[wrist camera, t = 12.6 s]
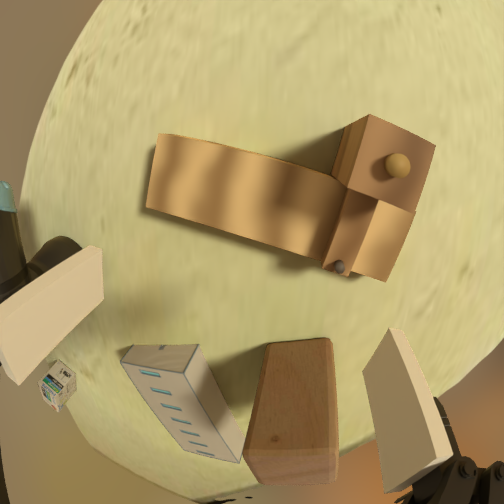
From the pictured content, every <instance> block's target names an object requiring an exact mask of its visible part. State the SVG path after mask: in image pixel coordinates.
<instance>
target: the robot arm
mask: <svg viewBox="0 0 504 504" xmlns="http://www.w3.org/2000/svg"><path fill="white" fill-rule="evenodd" d="M16 213H17V209H16V208H15V202H14V196H13V190H12V187H11V185H10V184H9V183H7V182H5V181H0V366H1V365H2V366H3V368H4V370H5V372H6V374H7V376H8V377H10V378H11V379H12V380H13V381H14V382H15V383H17V384H18V385H20V384H21V383H22V382H23V381H24V379H25V378H26V377H27V376H28V375H29V374H30V373H31V372H32V371H33V370H34V368H36V366H37V365H38V364H39V363H40V362H41V361H42V360H43V359H44V358H45V357H46V356H47V355H48V354H49V353H50V352H51V351H52V350H53V349H54V348H55V347H56V346H57V344H58V343H59V342H60V341H61V340H62V339H63V338H64V337H65V336H66V335H67V334H68V333H69V332H70V331H71V330H72V329H73V328H75V327H76V326H77V325H78V324H79V323H80V322H81V321H82V320H83V319H84V318H85V317H86V316H87V315H88V314H89V313H90V312H91V311H92V310H93V309H94V308H95V307H96V306H97V305H99V304H100V303H101V302H102V301H103V300H104V292H103V267H102V249H100V248H97V247H94V246H91V245H89V246H88V247H86V248H84V249H82V248H81V247H80V246H79V245H78V244H77V243H76V242H75V241H73V240H72V239H70V238H68V237H65V236H57V237H55V238H53V239H51V240H49V241H47V242H46V243H45V244H44V245H43V247H42V248H41V249H40V250H39V251H38V252H37V254H36V255H35V256H34V257H33V258H32V259H31V261H30V262H28V263H27V264H26V259H25V255H24V251H23V246H22V242H21V237H20V232H19V226H18V220H17V214H16ZM362 372H363V376H364V381H365V385H366V389H367V394H368V399H369V403H370V408H371V413H372V418H373V423H374V428H375V434H376V440H377V445H378V452H379V458H380V464H381V472H382V479H383V487H384V493H392V492H399V491H402V490H404V489H406V488H407V487H409V486H410V485H412V488H413V490H412V491H410V492H409V493H407V494H405V495H404V496H402V497H400V498H398V499H397V500H396V501H395V502H394V503H398V502H400V501H402V500H404V501H403V503H401V504H504V463H503V462H501V461H496V462H495V463H493V464H492V465H491V466H490V467H488V468H487V469H486V468H477V466H476V464H475V462H474V461H473V460H472V459H471V458H469V457H466V456H464V457H462V456H461V454H460V451H459V448H458V445H457V442H456V439H455V437H454V434H453V431H452V428H451V426H450V423H449V420H448V418H446V417H447V415H446V413H445V410H444V408H443V406H442V405H441V403H440V402H439V400H438V399H437V398H436V397H433V396H432V394H431V391H430V389H429V387H428V384H427V382H426V380H425V377H424V375H423V373H422V370H421V368H420V366H419V364H418V362H417V359H416V357H415V355H414V353H413V351H412V349H411V347H410V345H409V343H408V340H407V338H406V336H405V334H404V332H403V330H398V329H393V328H389V329H388V330H387V332H386V334H385V336H384V337H383V339H382V341H381V342H380V344H379V346H378V348H377V349H376V351H375V352H374V354H373V356H372V357H371V359H370V360H369V362H368V364H367V365H366V367H365V368H364V370H363V371H362ZM0 504H10V502H9V498H8V493H7V489H6V484H5V478H4V472H3V465H2V459H1V448H0Z"/></svg>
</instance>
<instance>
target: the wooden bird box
mask: <svg viewBox="0 0 504 504" xmlns="http://www.w3.org/2000/svg"><path fill="white" fill-rule="evenodd" d="M435 147H436V145H434V144H432V143H430V142H428V141H427V140H425V139H423V138H421V137H419V136H417V135H415V134H413V133H411V132H409V131H407V130H405V129H403V128H400V127H398V126H396V125H394V124H392V123H389V122H387V121H385V120H383V119H380V118H378V117H375V116H373V115H371V114H369V115H367V116H365V117H363V118H361V119H359V120H357V121H355V122H353V123H351V124H349V125H347V126H346V127H345V128H344V132H343V135H342V139H341V142H340V145H339V149H338V152H337V155H336V159H335V162H334V165H333V168H332V172H331V175H332V176H334V177H335V178H336V179H337V180H339V181H340V182H341V183H342V184H344V185H345V186H346V187H347V190H346V193H345V196H344V199H343V202H342V205H341V208H340V211H339V213H338V216H337V219H336V222H335V225H334V227H333V230H332V233H331V236H330V238H329V241H328V244H327V246H326V249H325V251H324V254H323V257H322V259H321V266H322V269H325V270H328V271H331V272H335V273H338V274H341V275H344V276H347V277H348V276H349V274H350V271H351V269H352V267H353V264H354V262H355V260H356V257H357V255H358V253H359V250H360V248H361V245H362V243H363V240H364V238H365V235H366V233H367V230H368V228H369V225H370V223H371V220H372V217H373V215H374V212H375V209H376V206H377V204H378V201H379V200H381V201H384V202H386V203H388V204H391V205H393V206H396V207H398V208H400V209H403V210H405V211H407V212H410V213H412V214H414V212H415V210H416V207H417V204H418V201H419V198H420V196H421V193H422V190H423V187H424V184H425V181H426V177H427V174H428V171H429V168H430V164H431V161H432V158H433V154H434V150H435Z"/></svg>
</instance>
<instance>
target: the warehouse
mask: <svg viewBox="0 0 504 504" xmlns="http://www.w3.org/2000/svg"><path fill="white" fill-rule="evenodd" d="M120 363H121V365H122V366H123V368H124V370H125V371H126V373H127V374H128V376H129V378H130V379H131V381H132V382H133V384H134V385H135V387H136V388H137V390H138V391H139V393H140V394H141V396H142V397H143V398H144V400H145V401H146V403H147V404H148V405H149V407H150V408H151V410H152V411H153V412H154V414H155V415H156V416H157V418H158V419H159V420H160V422H161V423H162V424H163V425H164V427H165V428H166V429H167V430H168V432H169V433H170V434H171V435H172V437H173V438H174V439H175V440H176V441H177V443H178V444H179V445H180V446H181V447H182V448H183V450H185V451H188V452H192V453H195V454H199V455H203V456H207V457H211V458H215V459H220V460H224V461H229V462H234V463H239V464H240V460H241V456H242V451H243V447H244V443H245V439H246V438H245V437H244V435H243V433H242V432H241V430H240V428H239V426H238V424H237V422H236V420H235V418H234V417H233V415H232V413H231V411H230V409H229V407H228V405H227V403H226V401H225V399H224V397H223V395H222V393H221V391H220V389H219V387H218V385H217V383H216V381H215V379H214V376H213V374H212V372H211V370H210V368H209V366H208V364H207V361H206V359H205V357H204V355H203V352H202V350H201V348H200V346H199V344H192V345H165V346H162V345H132V347H131V348H130V349H129V350H128V352H127V353H126V354H125V355H124V357H123V358H122V359H121V360H120Z"/></svg>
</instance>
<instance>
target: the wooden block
mask: <svg viewBox="0 0 504 504" xmlns="http://www.w3.org/2000/svg"><path fill="white" fill-rule="evenodd" d="M242 454H243V458H244V460H245V461H246V463H247V465H248V466H249V468H250V470H251V471H252V473H253V474H254V476H255V478H256V479H257V481H258V482H259V483H261V484H264V485H315V484H329V483H332V482H334V481H335V480H336V478H337V474H338V458H339V435H338V410H337V393H336V378H335V366H334V354H333V344H332V342H331V341H330V339H329V338H319V339H310V340H301V341H291V342H279V343H271V344H268V345H267V347H266V350H265V355H264V360H263V365H262V369H261V374H260V378H259V383H258V387H257V392H256V396H255V401H254V405H253V409H252V414H251V418H250V422H249V426H248V431H247V435H246V439H245V443H244V447H243V451H242Z"/></svg>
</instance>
